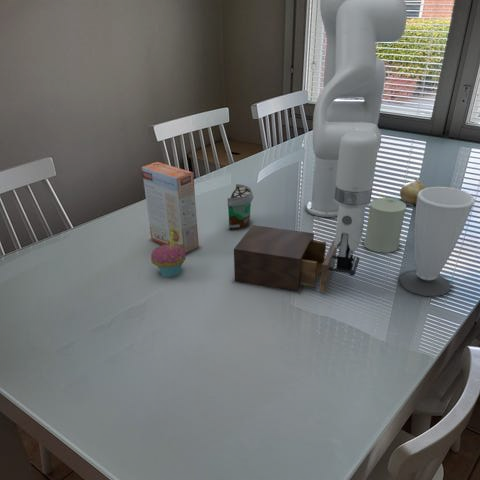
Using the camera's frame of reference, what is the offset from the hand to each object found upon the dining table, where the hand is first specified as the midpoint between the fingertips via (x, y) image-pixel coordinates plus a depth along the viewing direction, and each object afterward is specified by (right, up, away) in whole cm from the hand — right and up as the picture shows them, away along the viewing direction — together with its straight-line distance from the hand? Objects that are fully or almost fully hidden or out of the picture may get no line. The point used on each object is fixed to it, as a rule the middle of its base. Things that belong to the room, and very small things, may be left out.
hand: (343, 270), depth 111 cm
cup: (+20, -3, +2) cm, 20 cm away
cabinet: (-16, 0, +7) cm, 17 cm away
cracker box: (-42, +9, +21) cm, 48 cm away
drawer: (-7, -1, +4) cm, 8 cm away
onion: (+31, +26, +42) cm, 59 cm away
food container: (-23, +17, +31) cm, 42 cm away
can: (+14, +9, +18) cm, 25 cm away
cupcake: (-42, 0, +8) cm, 43 cm away
